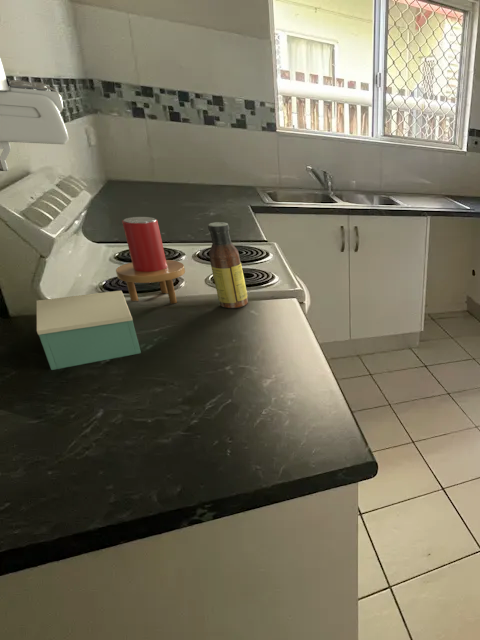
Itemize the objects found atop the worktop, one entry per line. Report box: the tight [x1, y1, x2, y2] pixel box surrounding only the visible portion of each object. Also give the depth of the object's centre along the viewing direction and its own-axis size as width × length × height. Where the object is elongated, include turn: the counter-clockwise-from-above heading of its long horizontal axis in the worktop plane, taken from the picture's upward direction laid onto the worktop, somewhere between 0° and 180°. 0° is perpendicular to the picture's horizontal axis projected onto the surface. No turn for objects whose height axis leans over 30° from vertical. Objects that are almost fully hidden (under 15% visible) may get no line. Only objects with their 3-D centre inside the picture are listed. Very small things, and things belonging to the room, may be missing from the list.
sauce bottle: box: [207, 221, 249, 309], centre depth 111 cm, size 6×6×20 cm
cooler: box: [38, 320, 142, 371], centre depth 89 cm, size 15×13×8 cm
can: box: [121, 216, 167, 272], centre depth 109 cm, size 6×6×11 cm
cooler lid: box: [36, 290, 133, 336], centre depth 87 cm, size 15×13×1 cm
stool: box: [115, 259, 186, 304], centre depth 113 cm, size 13×13×8 cm
